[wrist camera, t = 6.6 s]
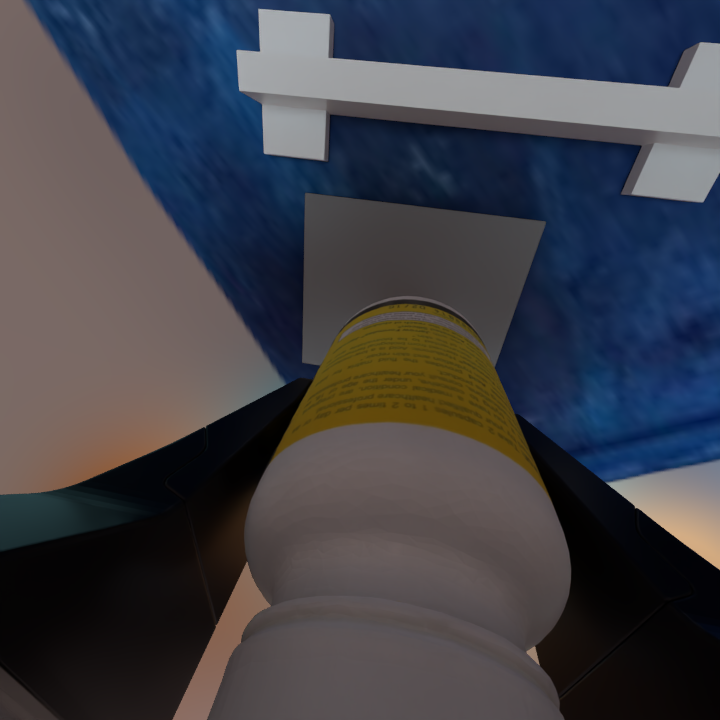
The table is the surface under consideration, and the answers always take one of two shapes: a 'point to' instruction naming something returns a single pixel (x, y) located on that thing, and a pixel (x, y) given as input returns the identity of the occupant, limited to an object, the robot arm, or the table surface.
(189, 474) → the robot arm
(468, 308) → the slate mat
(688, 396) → the table surface
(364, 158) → the table surface
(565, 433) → the table surface
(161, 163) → the table surface
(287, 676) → the supplement bottle
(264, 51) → the white barrier
